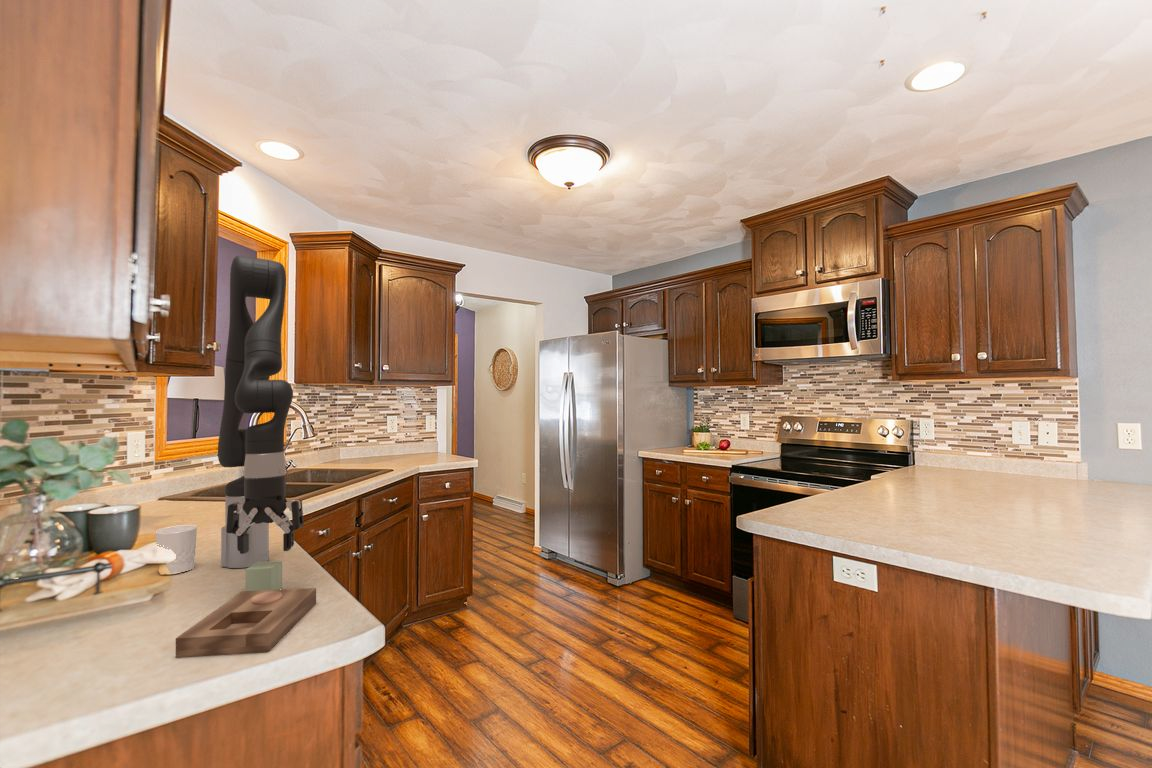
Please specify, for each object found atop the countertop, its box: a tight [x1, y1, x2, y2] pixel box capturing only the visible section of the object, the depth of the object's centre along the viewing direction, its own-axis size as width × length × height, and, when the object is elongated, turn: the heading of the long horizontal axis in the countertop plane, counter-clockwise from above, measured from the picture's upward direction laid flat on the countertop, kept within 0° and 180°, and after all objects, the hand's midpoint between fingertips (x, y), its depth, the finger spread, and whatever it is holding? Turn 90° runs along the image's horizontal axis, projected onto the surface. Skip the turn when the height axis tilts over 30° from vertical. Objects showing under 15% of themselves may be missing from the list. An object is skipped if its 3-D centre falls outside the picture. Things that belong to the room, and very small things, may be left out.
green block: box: [244, 560, 283, 591], centre depth 111 cm, size 5×5×6 cm
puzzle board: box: [175, 587, 317, 658], centre depth 94 cm, size 14×20×4 cm
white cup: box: [155, 524, 198, 573], centre depth 126 cm, size 8×8×10 cm
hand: (265, 551), depth 111 cm, fingers open, 8 cm apart
